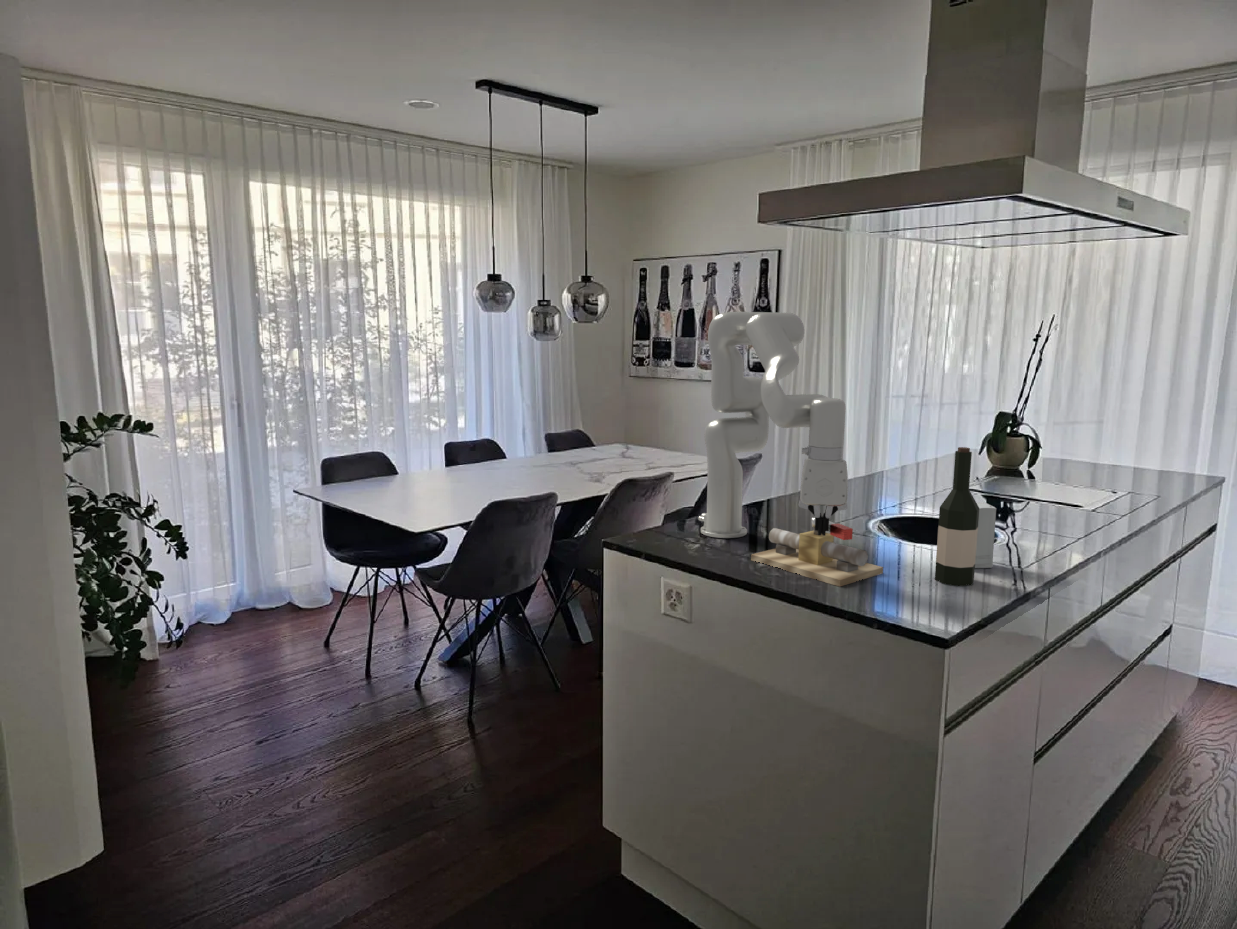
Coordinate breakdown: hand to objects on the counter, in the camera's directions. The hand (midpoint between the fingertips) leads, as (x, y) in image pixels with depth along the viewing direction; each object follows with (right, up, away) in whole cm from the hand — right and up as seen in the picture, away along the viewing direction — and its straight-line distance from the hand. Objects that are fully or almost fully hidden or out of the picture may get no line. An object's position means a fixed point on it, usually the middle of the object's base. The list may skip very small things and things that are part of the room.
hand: (821, 533), depth 188 cm
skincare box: (+38, -9, +10) cm, 40 cm away
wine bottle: (+29, -11, -2) cm, 31 cm away
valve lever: (+2, 0, +2) cm, 3 cm away
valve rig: (+1, -8, +8) cm, 12 cm away
